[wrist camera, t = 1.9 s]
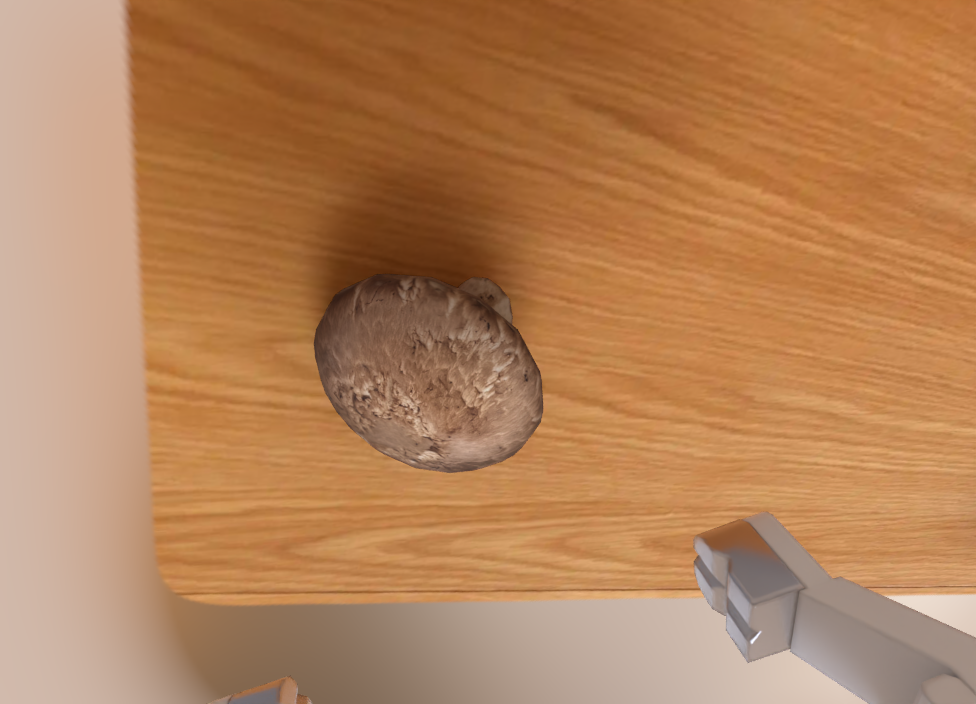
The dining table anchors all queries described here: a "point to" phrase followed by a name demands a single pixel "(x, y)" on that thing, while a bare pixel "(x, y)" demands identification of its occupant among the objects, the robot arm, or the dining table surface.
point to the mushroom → (430, 371)
